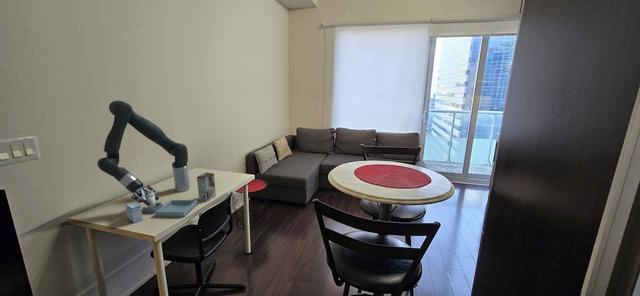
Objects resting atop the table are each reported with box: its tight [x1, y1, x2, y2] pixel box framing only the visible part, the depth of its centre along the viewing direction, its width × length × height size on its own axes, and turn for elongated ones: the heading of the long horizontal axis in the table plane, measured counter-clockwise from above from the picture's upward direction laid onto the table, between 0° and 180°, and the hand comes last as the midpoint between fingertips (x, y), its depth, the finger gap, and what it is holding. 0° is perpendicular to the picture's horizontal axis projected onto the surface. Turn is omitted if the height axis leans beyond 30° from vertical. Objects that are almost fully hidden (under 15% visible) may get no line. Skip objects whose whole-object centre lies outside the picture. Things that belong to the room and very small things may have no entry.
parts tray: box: [154, 199, 198, 218], centre depth 158 cm, size 16×16×3 cm
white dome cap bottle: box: [145, 193, 156, 209], centre depth 157 cm, size 4×4×10 cm
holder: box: [141, 201, 164, 214], centre depth 158 cm, size 8×7×3 cm
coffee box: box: [196, 172, 217, 202], centre depth 173 cm, size 9×6×16 cm
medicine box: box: [125, 202, 143, 224], centre depth 146 cm, size 8×4×9 cm, turn 56°
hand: (154, 202), depth 157 cm, fingers open, 7 cm apart
